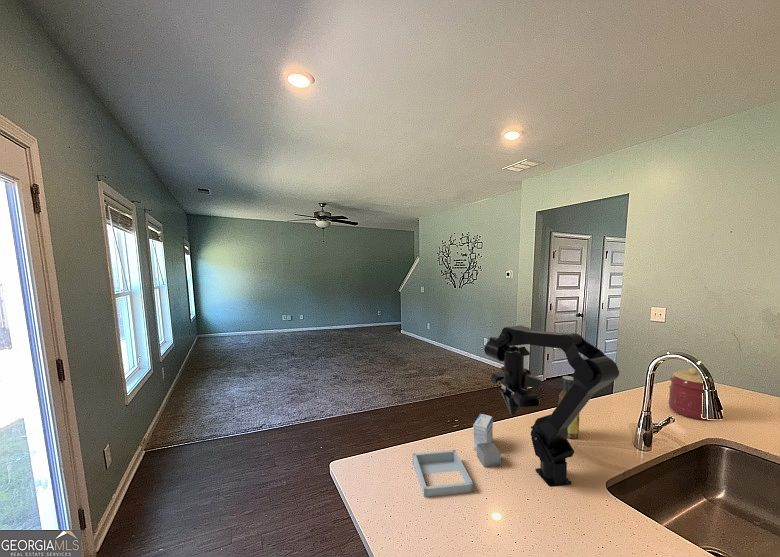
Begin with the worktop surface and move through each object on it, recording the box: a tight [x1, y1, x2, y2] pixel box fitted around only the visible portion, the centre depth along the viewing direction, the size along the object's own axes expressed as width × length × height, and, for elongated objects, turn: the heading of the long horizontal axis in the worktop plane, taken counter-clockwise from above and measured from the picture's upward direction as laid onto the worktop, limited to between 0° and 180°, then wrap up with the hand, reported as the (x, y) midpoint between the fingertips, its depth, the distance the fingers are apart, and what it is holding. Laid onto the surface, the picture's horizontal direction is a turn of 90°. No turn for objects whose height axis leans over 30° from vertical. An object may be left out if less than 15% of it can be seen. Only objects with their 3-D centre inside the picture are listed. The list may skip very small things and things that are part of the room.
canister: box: [668, 367, 717, 421], centre depth 118 cm, size 13×13×18 cm
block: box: [476, 441, 502, 468], centre depth 90 cm, size 5×5×4 cm
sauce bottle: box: [558, 375, 580, 439], centre depth 104 cm, size 6×6×20 cm
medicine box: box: [472, 413, 494, 451], centre depth 98 cm, size 8×4×9 cm, turn 149°
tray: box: [412, 449, 475, 498], centre depth 83 cm, size 14×13×4 cm
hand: (512, 414), depth 95 cm, fingers closed
